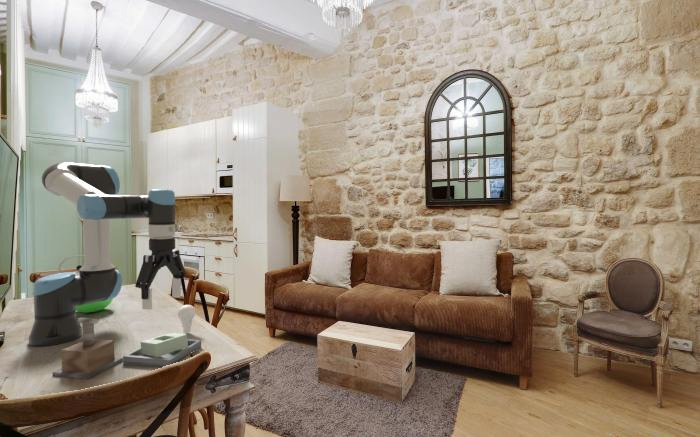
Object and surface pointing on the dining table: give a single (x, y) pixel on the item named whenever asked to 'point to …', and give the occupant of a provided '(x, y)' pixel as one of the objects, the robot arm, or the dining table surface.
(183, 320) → the lightbulb
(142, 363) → the tray
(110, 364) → the stake block
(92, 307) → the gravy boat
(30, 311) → the dining table surface
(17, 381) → the dining table surface
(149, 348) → the collar
